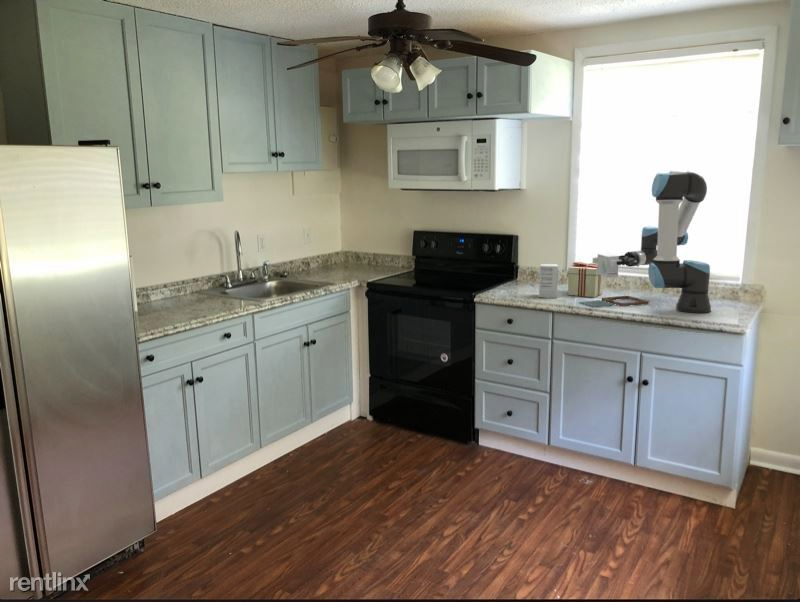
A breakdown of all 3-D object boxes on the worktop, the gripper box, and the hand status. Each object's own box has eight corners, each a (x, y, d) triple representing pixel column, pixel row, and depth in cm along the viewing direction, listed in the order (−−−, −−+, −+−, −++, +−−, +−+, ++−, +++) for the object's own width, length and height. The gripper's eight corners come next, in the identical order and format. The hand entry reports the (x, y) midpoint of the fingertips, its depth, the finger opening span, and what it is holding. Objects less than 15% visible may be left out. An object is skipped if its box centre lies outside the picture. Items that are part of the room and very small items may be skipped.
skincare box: (596, 274, 337) (597, 253, 335) (608, 273, 339) (609, 252, 336) (606, 277, 327) (607, 256, 325) (618, 276, 328) (619, 255, 326)
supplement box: (557, 298, 348) (558, 266, 345) (538, 298, 350) (539, 266, 347) (556, 295, 357) (557, 263, 354) (538, 294, 359) (539, 263, 356)
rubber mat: (614, 305, 329) (614, 304, 328) (593, 307, 325) (593, 306, 325) (599, 301, 340) (599, 300, 340) (579, 303, 336) (579, 301, 336)
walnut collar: (648, 304, 332) (648, 301, 331) (621, 306, 326) (621, 303, 326) (627, 298, 346) (627, 295, 346) (601, 300, 341) (601, 297, 341)
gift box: (604, 292, 364) (605, 260, 361) (597, 298, 348) (598, 265, 345) (572, 290, 372) (574, 259, 368) (564, 295, 356) (565, 263, 352)
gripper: (652, 269, 330) (619, 272, 320) (616, 263, 351) (584, 266, 341) (653, 253, 328) (620, 257, 319) (617, 248, 349) (585, 251, 339)
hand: (601, 261), depth 330 cm, fingers closed on skincare box, 11 cm apart
